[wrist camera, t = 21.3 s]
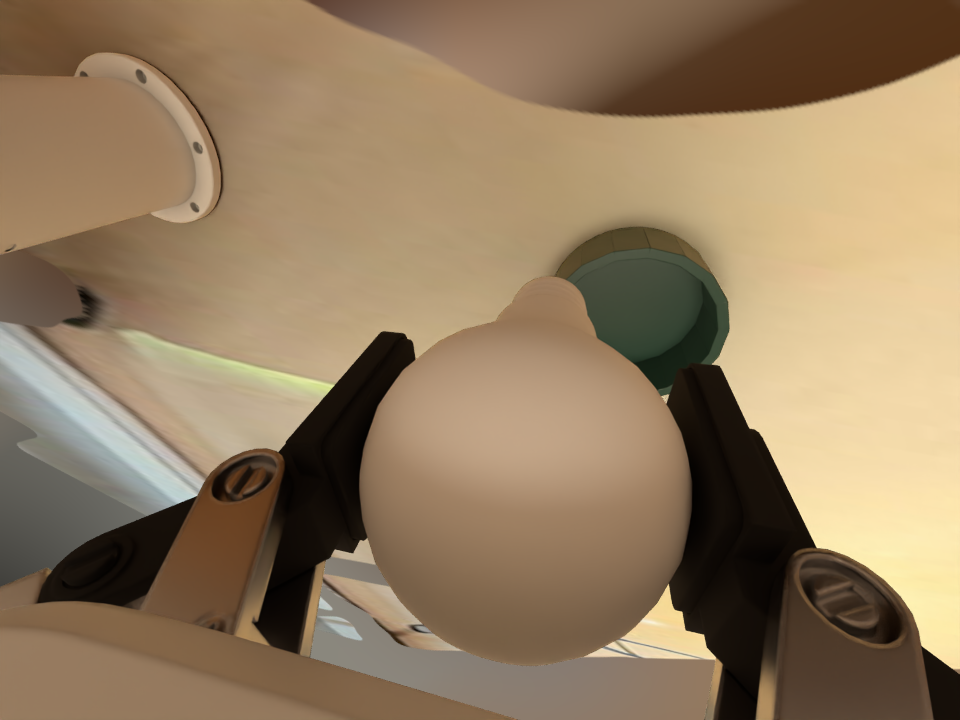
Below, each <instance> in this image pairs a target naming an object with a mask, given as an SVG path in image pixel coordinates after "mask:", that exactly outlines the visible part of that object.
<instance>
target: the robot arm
mask: <svg viewBox="0 0 960 720" xmlns="http://www.w3.org/2000/svg"><path fill="white" fill-rule="evenodd" d="M220 189H221V172H220V167H219V161H218V157H217V154H216V150H215V147H214V144H213V141H212V139H211V137H210V135H209V133H208V130H207V128H206V126H205V124H204V123H203V121H202V119H201V118H200V116H199V114H198V113H197V111H196V109H195V108H194V107H193V106H192V104H191V103H190V102H189V100H188V99H187V98H186V96H185V95H184V94H183V93H182V92H181V91H180V90H179V89H178V88H177V86H176V85H175V84H174V83H173V82H172V81H171V80H170V79H168V78H167V77H166V76H165V75H163V74H162V73H161V72H160V71H159V70H157V69H156V68H155V67H153V66H151V65H149V64H148V63H146V62H144V61H142V60H141V59H138V58H135V57H132V56H130V55H127V54H119V53H110V52H107V53H96V54H93V55H91V56H88V57H86V58H85V59H84V60H83V61H82V62H81V63H80V64H79V66H78V68H77V70H76V72H75V75H74V77H73V76H34V75H0V255H1V254H5V253H9V252H12V251H16V250H19V249H23V248H27V247H30V246H34V245H37V244H41V243H45V242H48V241H52V240H55V239H59V238H63V237H66V236H70V235H73V234H77V233H81V232H84V231H88V230H91V229H95V228H98V227H102V226H106V225H109V224H113V223H116V222H120V221H124V220H127V219H131V218H134V217H138V216H142V215H145V214H149V213H150V214H151V215H153V216H155V217H157V218H160V219H163V220H166V221H169V222H175V223H188V222H192V221H195V220H198V219H201V218H203V217H204V216H206V215H208V214H209V213H210V212H211V211H212V210H213V208H214V207H215V205H216V203H217V201H218V199H219V194H220ZM414 361H415V353H414V346H413V342H412V340H409V339H407V337H406V335H405V334H404V333H395V332H386V331H383V332H381V333H380V334H379V335H378V336H377V337H376V338H375V339H374V341H373V342H372V343H371V344H370V345H369V346H368V348H367V349H366V350H365V351H364V352H363V353H362V354H361V356H360V357H359V358H358V359H357V360H356V361H355V362H354V364H353V365H352V366H351V367H350V368H349V369H348V371H347V372H346V373H345V374H344V375H343V376H342V377H341V379H340V380H339V381H338V382H337V383H336V384H335V386H334V387H333V388H332V389H331V390H330V391H329V392H328V394H327V395H326V396H325V397H324V398H323V399H322V401H321V402H320V403H319V404H318V405H317V406H316V407H315V409H314V410H313V411H312V412H311V413H310V414H309V416H308V417H307V418H306V419H305V420H304V421H303V422H302V424H301V425H300V426H299V427H298V428H297V429H296V430H295V432H294V433H293V434H292V435H291V436H290V437H289V439H288V440H287V441H286V444H285V445H284V446H283V447H282V449H281V450H280V451H279V452H277V451H275V450H271V449H253V450H249V451H245V452H242V453H240V454H237V455H235V456H233V457H231V458H229V459H228V460H226V461H224V462H223V463H221V464H220V465H219V466H218V467H217V468H216V469H215V470H213V471H212V472H211V473H210V475H209V476H208V478H207V479H206V481H205V482H204V484H203V486H202V488H201V490H200V492H199V494H198V496H196V497H194V498H191V499H189V500H186V501H184V502H181V503H179V504H176V505H174V506H171V507H169V508H166V509H164V510H161V511H159V512H156V513H154V514H151V515H149V516H146V517H144V518H141V519H139V520H136V521H134V522H131V523H129V524H126V525H124V526H121V527H119V528H116V529H114V530H111V531H109V532H106V533H104V534H102V535H100V536H97V537H95V538H93V539H92V540H89V541H87V542H86V543H84V544H83V545H81V546H80V547H78V548H77V549H75V550H74V551H73V552H71V553H70V554H69V555H68V556H66V557H65V558H64V559H63V560H62V561H61V562H60V563H59V564H58V565H57V566H56V567H55V568H54V569H53V571H51V570H50V569H48V568H45V569H43V570H40V571H38V572H35V573H33V574H31V575H28V576H26V577H23V578H21V579H18V580H16V581H13V582H11V583H9V584H6V585H4V586H2V587H0V720H517V719H514V718H511V717H508V716H504V715H501V714H497V713H494V712H491V711H487V710H484V709H481V708H477V707H474V706H470V705H467V704H464V703H460V702H457V701H454V700H451V699H447V698H444V697H440V696H437V695H434V694H430V693H427V692H424V691H420V690H417V689H413V688H410V687H407V686H403V685H400V684H397V683H393V682H390V681H386V680H383V679H380V678H377V677H373V676H370V675H366V674H363V673H360V672H356V671H353V670H350V669H346V668H343V667H339V666H336V665H332V664H329V663H326V662H322V661H319V660H315V659H312V658H310V655H311V649H312V643H313V636H314V630H315V624H316V618H317V612H318V606H319V599H320V593H321V587H322V581H323V575H324V568H325V562H326V560H327V559H329V558H330V557H331V555H332V553H333V551H334V550H335V549H336V550H340V551H345V552H349V553H354V551H355V549H356V547H357V545H358V543H359V541H360V540H363V541H364V540H366V539H367V534H366V530H365V527H364V523H363V520H362V511H361V503H360V494H359V480H360V468H361V461H362V454H363V448H364V445H365V442H366V439H367V436H368V433H369V430H370V427H371V425H372V422H373V419H374V416H375V413H376V410H377V407H378V405H379V404H380V402H381V401H382V399H383V398H384V396H385V395H386V393H387V392H388V390H389V389H390V387H391V386H392V385H393V383H394V382H395V380H396V379H397V378H398V376H399V375H400V374H401V372H402V371H403V370H404V369H405V368H406V367H407V366H409V365H410V364H411V363H412V362H414ZM666 405H667V406H668V408H669V410H670V412H671V414H672V416H673V418H674V420H675V422H676V424H677V426H678V427H679V429H680V431H681V434H682V437H683V441H684V445H685V448H686V452H687V456H688V461H689V466H690V472H691V478H692V513H691V519H690V525H689V532H688V536H687V540H686V545H685V549H684V553H683V558H682V561H681V563H680V565H679V566H678V568H677V570H676V572H675V573H674V575H673V577H672V578H671V580H670V582H669V587H670V594H671V600H672V604H673V607H674V609H675V610H677V611H682V612H683V618H684V624H685V629H686V631H691V632H695V633H699V634H704V636H705V641H706V646H707V648H708V649H709V650H710V651H711V652H712V653H713V654H714V656H715V657H716V661H715V666H714V672H713V677H712V682H711V687H710V692H709V698H708V703H707V708H706V714H705V719H704V720H960V674H958V673H957V672H956V671H954V670H953V669H952V668H950V667H949V666H948V665H946V664H945V663H944V662H942V661H941V660H939V659H938V658H937V657H935V656H934V655H933V654H931V653H930V652H929V651H927V650H926V649H925V648H923V647H922V646H921V642H920V636H919V631H918V628H917V625H916V622H915V620H914V617H913V614H912V613H911V611H910V610H909V608H908V607H907V605H906V604H905V602H904V601H903V599H902V598H901V597H900V596H899V595H898V594H897V592H896V591H895V590H894V589H893V588H892V587H891V586H890V585H889V584H888V583H887V582H886V581H885V580H883V579H882V578H881V577H879V576H878V575H877V574H875V573H874V572H873V571H871V570H870V569H869V568H867V567H866V566H864V565H862V564H861V563H859V562H857V561H855V560H853V559H851V558H850V557H848V556H845V555H843V554H840V553H837V552H834V551H831V550H828V549H820V548H816V546H815V544H814V542H813V540H812V538H811V535H810V533H809V531H808V529H807V527H806V525H805V523H804V521H803V519H802V517H801V515H800V513H799V511H798V509H797V507H796V505H795V503H794V501H793V499H792V497H791V495H790V493H789V491H788V489H787V487H786V485H785V483H784V481H783V478H782V476H781V474H780V472H779V470H778V468H777V466H776V464H775V462H774V460H773V458H772V456H771V454H770V452H769V450H768V448H767V446H766V444H765V442H764V440H763V438H762V436H761V435H760V433H759V432H757V431H756V430H754V429H749V427H748V425H747V423H746V420H745V418H744V416H743V414H742V412H741V410H740V408H739V405H738V403H737V401H736V399H735V397H734V395H733V393H732V390H731V388H730V386H729V384H728V382H727V380H726V378H725V375H724V373H723V371H722V369H721V368H720V366H718V365H708V364H699V363H690V364H689V365H688V366H687V368H686V369H685V368H679V369H678V371H677V373H676V376H675V379H674V382H673V385H672V388H671V392H670V395H669V398H668V401H667V404H666Z"/></svg>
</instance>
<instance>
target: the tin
mask: <svg viewBox="0 0 960 720" xmlns="http://www.w3.org/2000/svg"><path fill="white" fill-rule="evenodd" d="M555 277H558V278H562V279H565V280H567V281H569V282H570V283H572V284H573V285H574V286H576V287H577V289H578V290H579V291H580V292H581V294H582V296H583V298H584V301H585V305H586V309H587V316H588V317H589V318H590V320H591V322H592V324H593V326H594V329H595V333H596V337H597V338H598V339H599V340H601V341H602V342H604V343H606V344H607V345H609V346H610V347H612V348H613V349H615V350H616V351H617V352H619V353H620V354H621V355H623V356H624V357H625V358H627V359H628V360H629V361H631V362H632V363H633V364H634V365H636V366H637V367H638V368H639V369H640V371H641V372H642V373H643V374H644V375H645V376H646V378H647V379H648V380H649V381H650V382H651V383H652V385H653V386H654V387H655V388H656V390H657V391H658V393H659V394H660V396H663V395H667V394H670V392H671V388H672V385H673V382H674V379H675V376H676V373H677V371H678V369H679V368H685V369H686V368H687V366H688V365H689V364H690V363H699V364H708V365H711V364H712V363H713V362H714V361H715V360H716V359H717V358H718V356H719V355H720V352H721V350H722V347H723V345H724V342H725V340H726V337H727V335H728V333H729V310H728V300H727V298H726V296H725V295H724V293H723V291H722V289H721V288H720V286H719V284H718V283H717V281H716V279H715V277H714V276H713V274H712V273H711V271H710V270H709V268H708V266H707V265H706V263H705V262H704V260H703V259H702V257H701V256H700V254H699V253H698V252H697V251H696V250H695V249H693V248H692V247H691V246H690V245H689V244H687V243H686V242H685V241H684V240H682V239H680V238H679V237H677V236H675V235H673V234H670V233H668V232H665V231H662V230H658V229H654V228H645V227H629V228H621V229H616V230H612V231H609V232H606V233H603V234H601V235H598V236H596V237H594V238H592V239H590V240H588V241H586V242H585V243H584V244H582V245H581V246H579V247H578V248H577V249H576V250H575V251H573V252H572V253H571V254H570V255H569V256H568V257H567V259H566V260H565V261H564V262H563V263H562V265H561V266H560V268H559V269H558V271H557V273H556V275H555Z"/></svg>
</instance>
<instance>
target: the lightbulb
mask: <svg viewBox="0 0 960 720" xmlns="http://www.w3.org/2000/svg"><path fill="white" fill-rule="evenodd" d="M359 494H360V503H361V511H362V520H363V523H364V527H365V530H366V534H367V537H368V541H369V544H370V547H371V550H372V554H373V557H374V560H375V563H376V565H377V566H378V568H379V570H380V571H381V573H382V575H383V576H384V578H385V579H386V581H387V583H388V584H389V586H390V587H391V589H392V590H393V592H394V593H395V595H396V596H397V598H398V599H399V600H400V602H401V603H402V604H403V605H404V606H405V607H406V608H407V610H409V611H410V612H411V613H412V614H413V615H414V616H415V617H416V618H417V619H418V620H419V621H420V622H421V623H422V624H423V625H424V626H425V627H427V628H428V629H429V630H430V631H431V632H432V633H434V634H435V635H436V636H438V637H439V638H441V639H442V640H444V641H445V642H447V643H449V644H451V645H453V646H455V647H456V648H459V649H461V650H463V651H466V652H468V653H471V654H473V655H476V656H479V657H481V658H485V659H489V660H492V661H496V662H501V663H506V664H513V665H521V666H538V665H548V664H552V663H557V662H562V661H566V660H571V659H575V658H579V657H584V656H586V655H588V654H590V653H592V652H594V651H596V650H598V649H600V648H602V647H604V646H606V645H608V644H610V643H612V642H614V641H616V640H618V639H620V638H622V637H623V636H625V635H626V634H627V633H628V632H630V631H631V630H632V629H633V628H634V627H635V626H636V625H637V624H638V623H639V622H640V621H641V620H642V619H643V618H644V617H645V616H646V615H647V614H648V612H649V611H650V610H651V609H652V608H653V607H654V606H655V605H656V604H657V603H658V601H659V599H660V597H661V596H662V594H663V592H664V591H665V589H666V587H667V585H668V584H669V582H670V580H671V578H672V577H673V575H674V573H675V572H676V570H677V568H678V566H679V565H680V563H681V561H682V558H683V553H684V549H685V545H686V540H687V536H688V532H689V525H690V519H691V513H692V478H691V472H690V466H689V461H688V456H687V452H686V448H685V445H684V441H683V437H682V434H681V431H680V429H679V427H678V426H677V424H676V422H675V420H674V418H673V416H672V414H671V412H670V410H669V408H668V406H667V405H666V403H665V402H664V400H663V399H662V397H661V396H660V394H659V393H658V391H657V390H656V388H655V387H654V386H653V385H652V383H651V382H650V381H649V380H648V379H647V378H646V376H645V375H644V374H643V373H642V372H641V371H640V369H639V368H638V367H637V366H636V365H634V364H633V363H632V362H631V361H629V360H628V359H627V358H625V357H624V356H623V355H621V354H620V353H619V352H617V351H616V350H615V349H613V348H612V347H610V346H609V345H607V344H606V343H604V342H602V341H601V340H599V339H598V338H597V337H596V333H595V329H594V326H593V324H592V322H591V320H590V318H589V317H588V316H587V309H586V305H585V301H584V298H583V296H582V294H581V292H580V291H579V290H578V289H577V287H576V286H574V285H573V284H572V283H570V282H569V281H567V280H565V279H562V278H558V277H551V276H546V277H540V278H536V279H533V280H531V281H529V282H528V283H526V284H525V285H524V286H523V287H522V288H521V289H520V290H519V291H518V293H517V294H516V296H515V297H514V299H513V302H512V303H511V304H510V305H509V306H508V307H506V308H505V309H504V310H503V311H502V312H501V314H500V315H499V316H498V318H497V320H496V321H495V322H491V323H487V324H483V325H479V326H475V327H471V328H467V329H463V330H461V331H459V332H457V333H455V334H453V335H451V336H449V337H446V338H444V339H442V340H440V341H439V342H437V343H436V344H435V345H434V346H432V347H431V348H430V349H429V350H427V351H426V352H425V353H424V354H422V355H421V356H420V357H419V358H417V359H416V360H415V361H414V362H412V363H411V364H410V365H409V366H407V367H406V368H405V369H404V370H403V371H402V372H401V374H400V375H399V376H398V378H397V379H396V380H395V382H394V383H393V385H392V386H391V387H390V389H389V390H388V392H387V393H386V395H385V396H384V398H383V399H382V401H381V402H380V404H379V405H378V407H377V410H376V413H375V416H374V419H373V422H372V425H371V427H370V430H369V433H368V436H367V439H366V442H365V445H364V448H363V454H362V461H361V468H360V480H359Z"/></svg>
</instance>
